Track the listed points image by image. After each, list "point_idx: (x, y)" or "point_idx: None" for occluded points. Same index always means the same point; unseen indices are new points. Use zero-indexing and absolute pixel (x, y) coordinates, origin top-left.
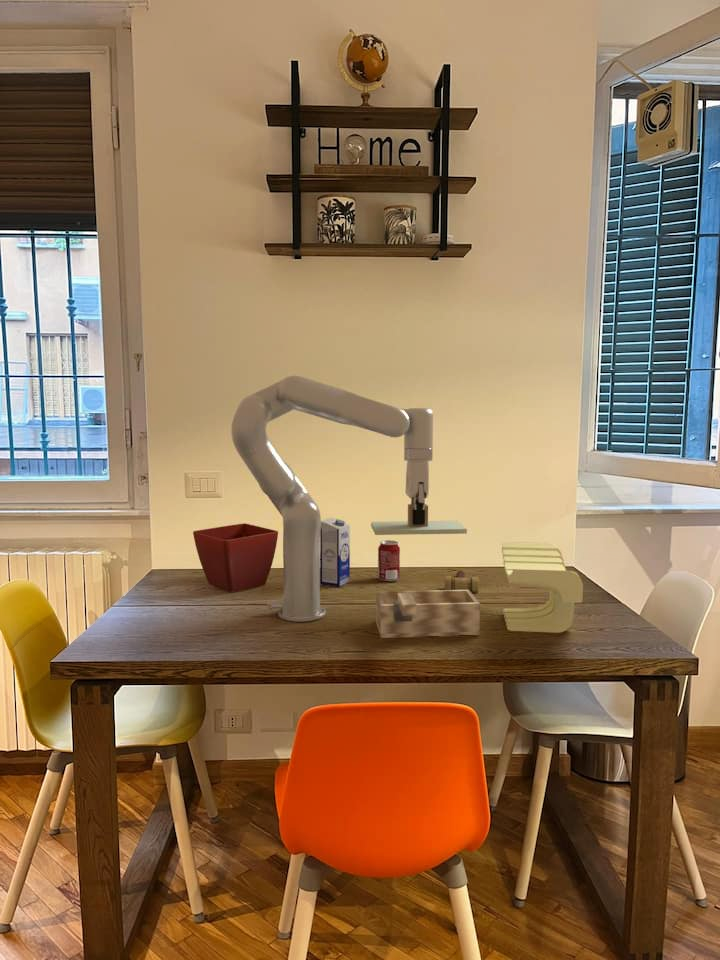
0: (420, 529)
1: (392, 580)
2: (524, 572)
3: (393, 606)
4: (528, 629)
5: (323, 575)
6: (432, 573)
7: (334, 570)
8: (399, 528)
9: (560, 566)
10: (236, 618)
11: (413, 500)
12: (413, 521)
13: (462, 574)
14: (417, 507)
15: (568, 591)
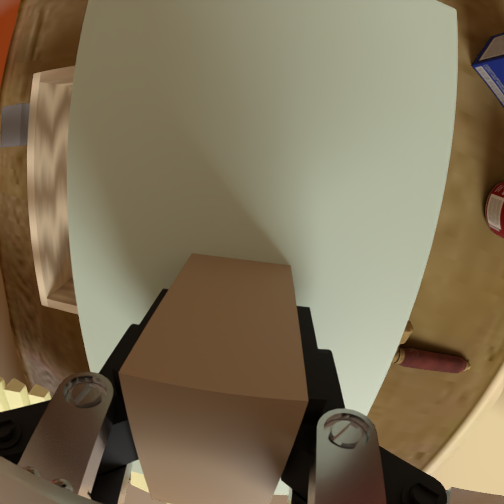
0: (83, 298)
1: (485, 209)
2: None
3: (31, 103)
4: None
5: (501, 36)
6: (497, 315)
7: (500, 51)
8: (121, 150)
9: (147, 489)
10: None
11: (309, 497)
12: (157, 302)
13: (432, 369)
14: (43, 405)
15: None
